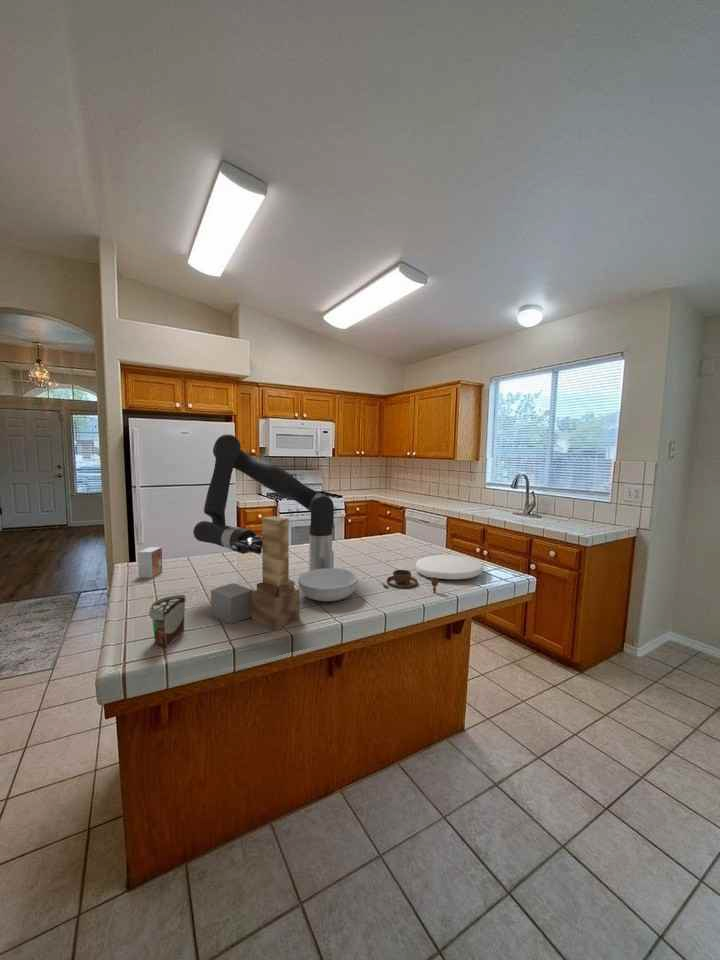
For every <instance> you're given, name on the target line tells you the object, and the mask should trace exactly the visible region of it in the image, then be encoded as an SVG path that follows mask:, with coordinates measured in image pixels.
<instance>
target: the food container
mask: <svg viewBox="0 0 720 960" xmlns="http://www.w3.org/2000/svg"><path fill="white" fill-rule="evenodd" d="M186 599H187V598H186V594H177V595H169V596H167V597H166V596H165V597H163V598H162V597H161V598H159V599H158V600H156V601H154V602H153V603H152V604H151V606H150V608H149V611H148V612H149V613H148V616H149V618H151V619H152V628H153V634H154V635H153V636H154V637H153V638H154V642H155V645H156V646H157V647H160V648H168V647H169V646H170V645H171V644H172V643H173V642H174V641H175V640H176V639H177V638H178V637H179V636H180V635H182V633H183V632H184V631H185V611H186V608H185V606H186V605H185V604H186V601H187V600H186Z"/></svg>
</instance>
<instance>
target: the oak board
mask: <svg viewBox="0 0 720 960" xmlns="http://www.w3.org/2000/svg"><path fill="white" fill-rule="evenodd" d="M261 518H262V519H261V532H262V535H261V536H262V553H261V555H262V556H261V558H262V561H261V562H262V564H261V566H262V583H265V584H268V585H271V586H274V587H277V595H279V588H280V587H283V586H285V585H288V584H289V580H290V579H289V574H290V573H289V572H290V571H289V570H290V568H289V562H290V561H289V559H290V557H289V555H290V552H289V549H290V548H289V546H290V544H289V543H290V542H289V539H290V538H289V533H290V532H289V529H290V527H289V518H287V517H286V518H285V517H281V516H274V515H271V516H264V517H261Z"/></svg>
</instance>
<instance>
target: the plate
mask: <svg viewBox="0 0 720 960" xmlns="http://www.w3.org/2000/svg"><path fill="white" fill-rule="evenodd" d="M415 570H416V572H417V573H419V575H422V576H424V577H427V578H433V577H435V578H438V580H439V579H440V580H441V579H443V580H466V579H471V578H475V577H477V576H481V574H482V573H483V571H484V565H483V562H481V561H480V560H478V559H475V558H473V557H467V556H461V555H450V554H442V555H441V554H439V555H437V554H436V555H430V556H425V557H423V558H420V559H418V560H417V561H415Z"/></svg>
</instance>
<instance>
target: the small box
mask: <svg viewBox="0 0 720 960" xmlns="http://www.w3.org/2000/svg"><path fill="white" fill-rule="evenodd" d="M137 561H138V563H137V564H138V567H137V568H138V571H137V572H138V578H139V579H144V578H145V579H152V578H154V577H156V576H157V575H161V574H162V573H163V547H161V546H148V547H147V548H144V549H143V550H140V551H138V552H137Z"/></svg>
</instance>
